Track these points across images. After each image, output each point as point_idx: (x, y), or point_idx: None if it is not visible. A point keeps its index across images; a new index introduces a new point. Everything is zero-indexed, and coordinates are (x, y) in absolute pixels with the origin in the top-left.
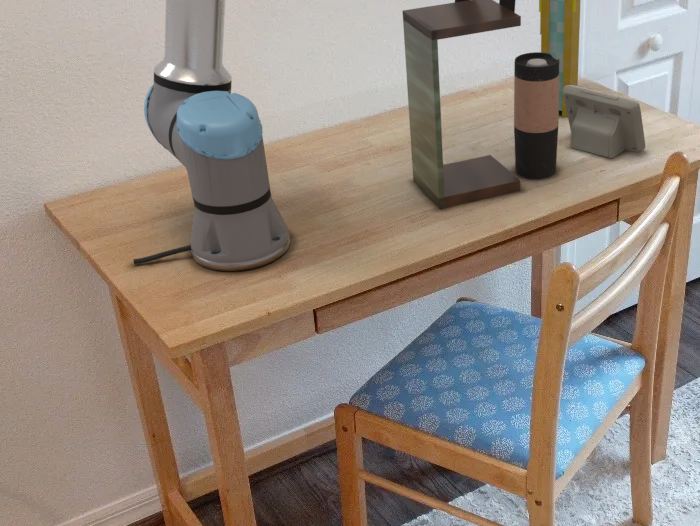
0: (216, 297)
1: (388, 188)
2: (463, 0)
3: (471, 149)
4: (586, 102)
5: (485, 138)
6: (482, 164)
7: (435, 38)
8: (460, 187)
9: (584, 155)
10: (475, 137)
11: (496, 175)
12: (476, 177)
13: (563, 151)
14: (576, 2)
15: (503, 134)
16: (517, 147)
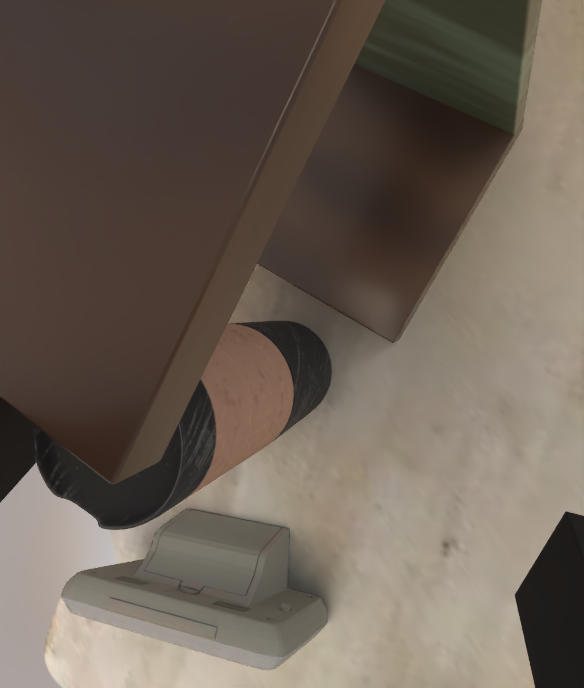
0: None
1: (560, 46)
2: (577, 681)
3: (509, 402)
4: (208, 603)
5: (520, 489)
6: (373, 277)
7: None
8: (338, 127)
9: (242, 502)
10: (553, 482)
11: (305, 243)
12: (340, 202)
13: (292, 501)
14: None
15: (490, 536)
16: (278, 328)
